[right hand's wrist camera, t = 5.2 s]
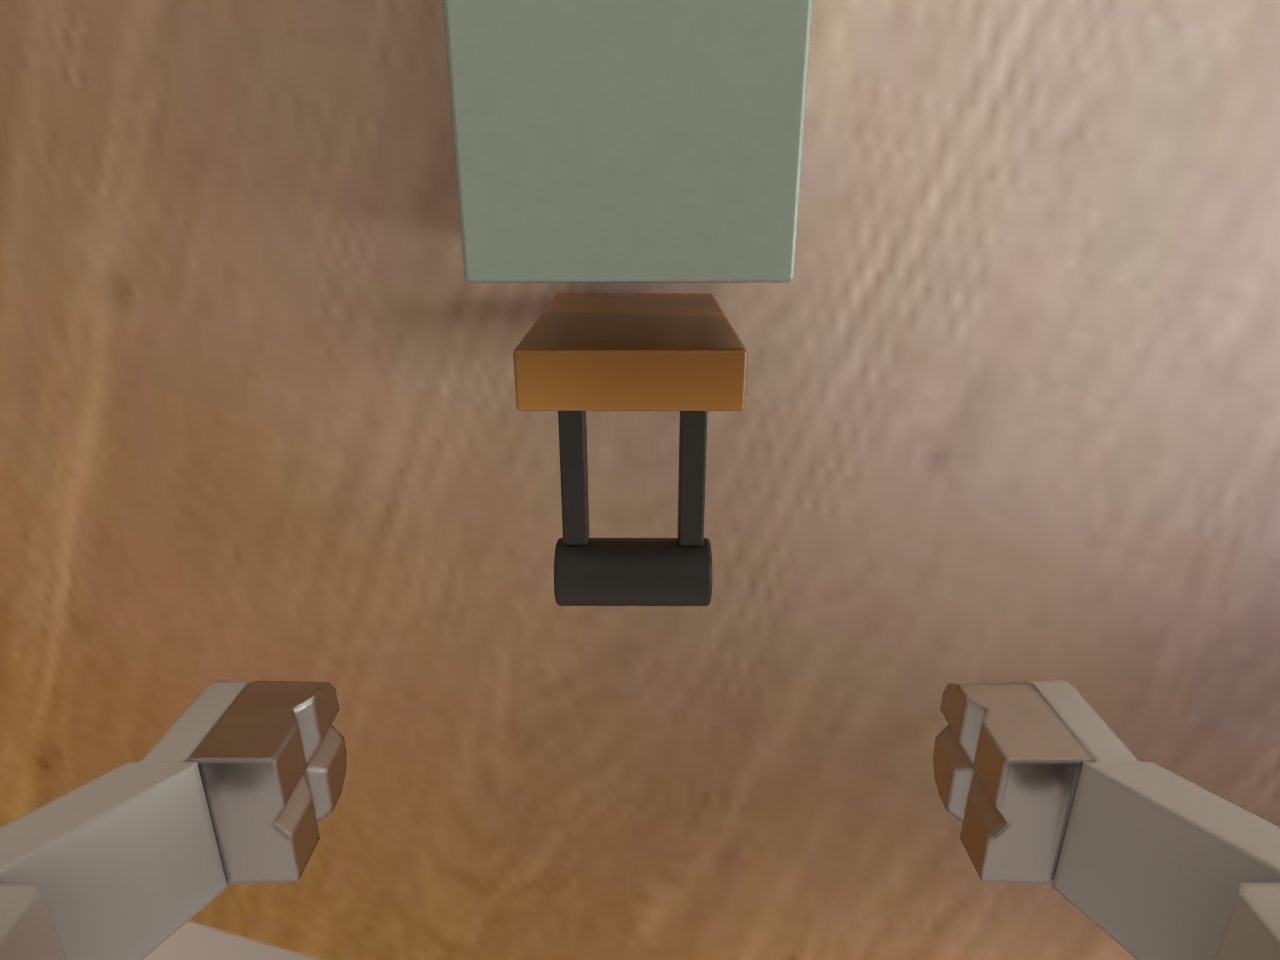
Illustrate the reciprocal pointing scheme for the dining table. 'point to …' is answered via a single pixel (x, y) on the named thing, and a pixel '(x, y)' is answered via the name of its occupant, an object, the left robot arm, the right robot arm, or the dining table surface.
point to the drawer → (632, 381)
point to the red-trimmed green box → (628, 138)
